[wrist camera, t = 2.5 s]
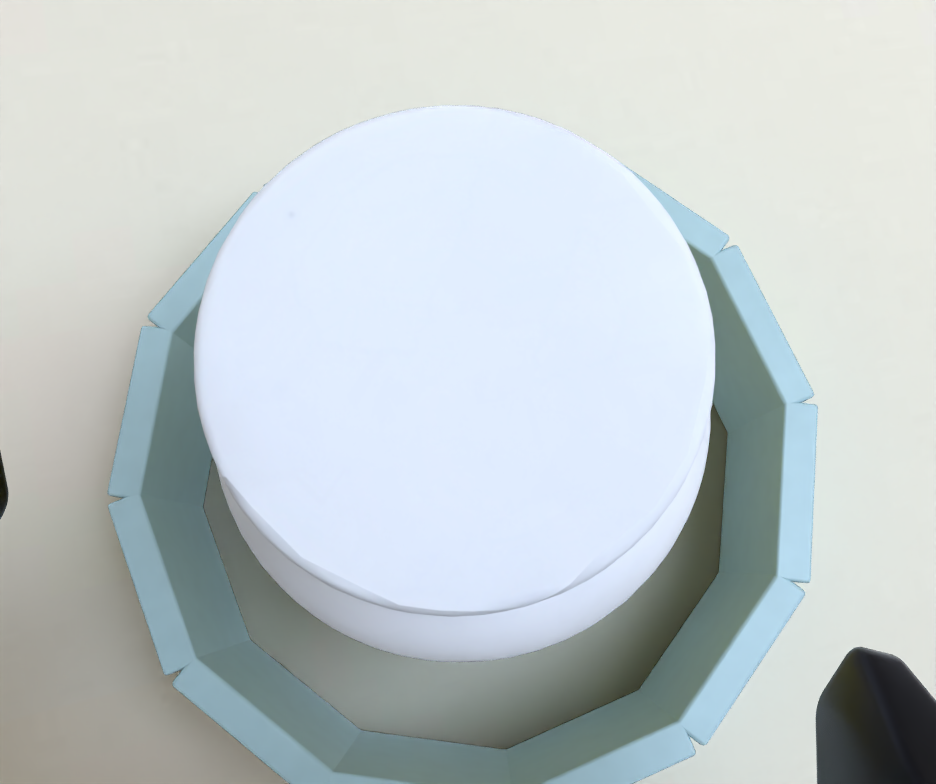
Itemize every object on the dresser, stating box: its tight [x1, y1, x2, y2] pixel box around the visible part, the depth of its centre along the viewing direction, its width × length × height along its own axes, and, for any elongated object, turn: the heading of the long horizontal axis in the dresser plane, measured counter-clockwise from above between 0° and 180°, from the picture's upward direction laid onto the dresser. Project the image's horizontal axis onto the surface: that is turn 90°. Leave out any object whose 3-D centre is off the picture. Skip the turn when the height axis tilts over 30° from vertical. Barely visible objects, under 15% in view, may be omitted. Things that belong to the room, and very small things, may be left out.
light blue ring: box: [108, 161, 818, 784], centre depth 17 cm, size 12×12×4 cm
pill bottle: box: [193, 105, 715, 662], centre depth 13 cm, size 6×6×11 cm
